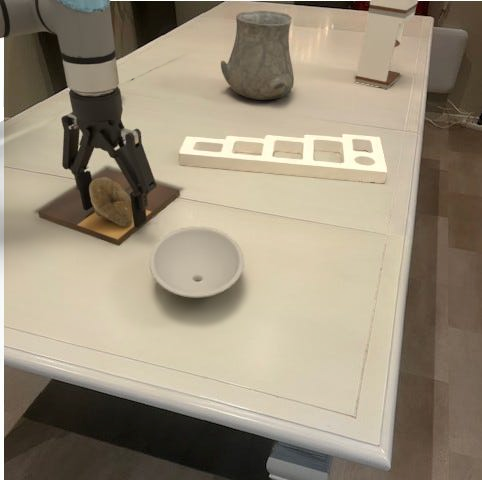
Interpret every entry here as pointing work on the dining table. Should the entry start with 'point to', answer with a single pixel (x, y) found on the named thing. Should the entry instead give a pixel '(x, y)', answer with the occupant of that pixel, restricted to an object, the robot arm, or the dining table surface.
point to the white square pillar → (382, 40)
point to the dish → (196, 261)
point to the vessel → (260, 56)
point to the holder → (350, 168)
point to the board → (88, 222)
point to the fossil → (110, 201)
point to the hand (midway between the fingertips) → (114, 215)
